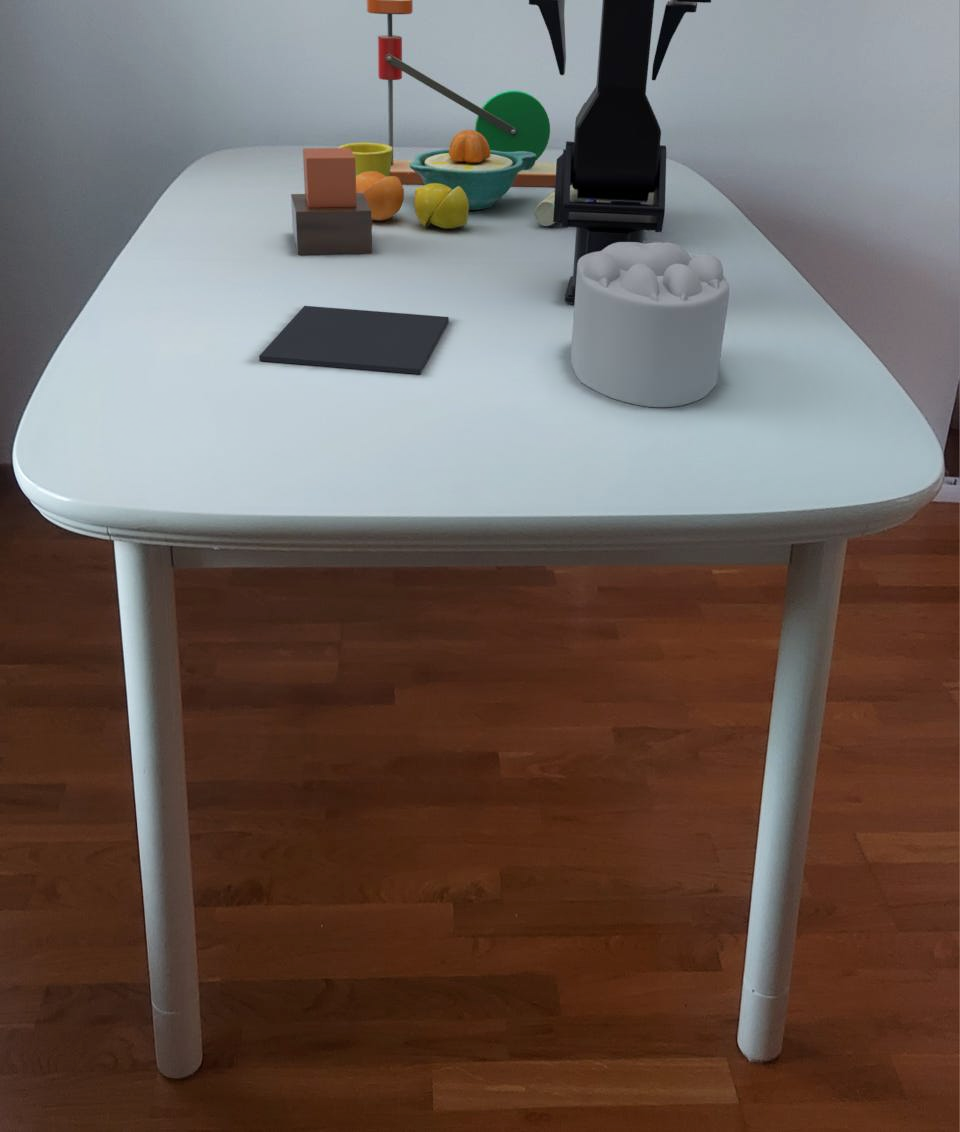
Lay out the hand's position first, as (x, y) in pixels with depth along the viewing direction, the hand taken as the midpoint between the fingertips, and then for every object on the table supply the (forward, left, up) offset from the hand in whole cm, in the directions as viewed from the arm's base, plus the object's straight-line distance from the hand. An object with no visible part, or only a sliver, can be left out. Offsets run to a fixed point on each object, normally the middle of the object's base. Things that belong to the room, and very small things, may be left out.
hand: (607, 77), depth 118 cm
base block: (-16, +25, -14) cm, 33 cm away
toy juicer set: (0, +14, -14) cm, 20 cm away
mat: (-42, +16, -14) cm, 47 cm away
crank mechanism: (+16, +17, -14) cm, 27 cm away
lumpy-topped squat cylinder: (-44, -6, -14) cm, 47 cm away
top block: (-16, +25, -10) cm, 31 cm away
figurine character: (-1, -2, -14) cm, 15 cm away
